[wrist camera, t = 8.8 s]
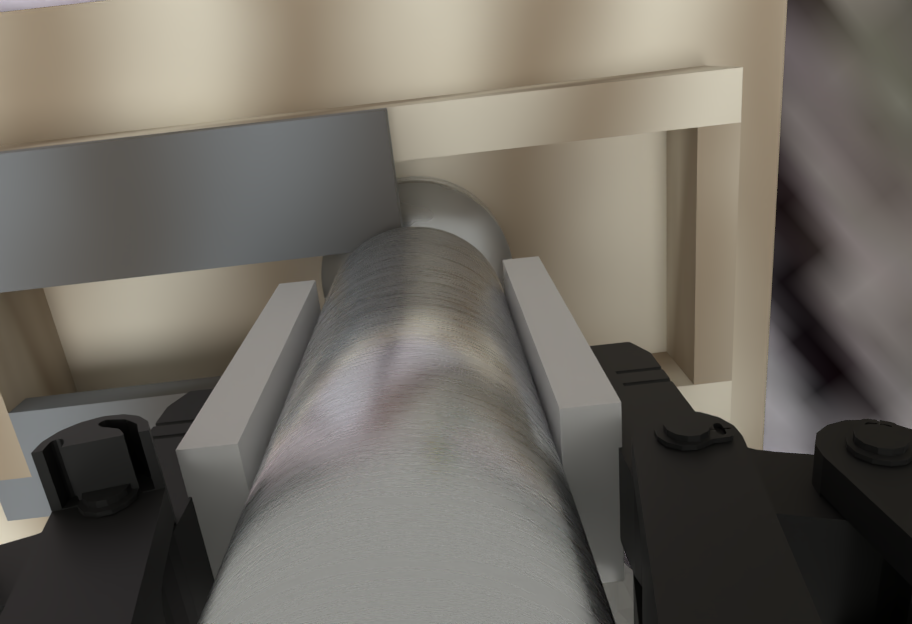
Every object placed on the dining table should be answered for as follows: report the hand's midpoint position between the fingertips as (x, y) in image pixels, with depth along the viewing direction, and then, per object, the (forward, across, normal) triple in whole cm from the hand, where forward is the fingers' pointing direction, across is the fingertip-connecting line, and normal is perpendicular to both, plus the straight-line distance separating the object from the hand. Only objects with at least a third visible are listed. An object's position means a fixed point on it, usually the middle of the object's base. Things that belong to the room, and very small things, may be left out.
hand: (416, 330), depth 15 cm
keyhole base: (+6, +3, 0) cm, 6 cm away
